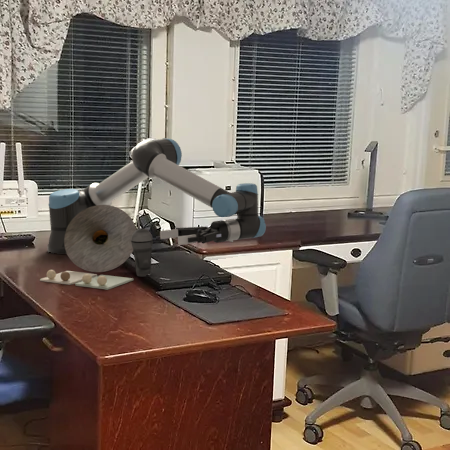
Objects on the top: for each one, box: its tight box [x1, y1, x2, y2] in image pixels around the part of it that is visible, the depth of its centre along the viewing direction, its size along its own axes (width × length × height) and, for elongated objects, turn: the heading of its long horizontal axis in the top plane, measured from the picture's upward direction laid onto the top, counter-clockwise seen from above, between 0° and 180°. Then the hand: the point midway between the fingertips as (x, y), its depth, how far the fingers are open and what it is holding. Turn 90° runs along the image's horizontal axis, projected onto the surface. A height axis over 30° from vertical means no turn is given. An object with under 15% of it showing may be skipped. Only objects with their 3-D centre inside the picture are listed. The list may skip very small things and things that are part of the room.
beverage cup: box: [131, 214, 154, 277], centre depth 243 cm, size 7×7×20 cm
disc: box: [64, 205, 137, 273], centre depth 261 cm, size 25×18×25 cm
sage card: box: [74, 274, 134, 291], centre depth 235 cm, size 13×13×4 cm
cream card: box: [39, 269, 98, 286], centre depth 243 cm, size 13×13×4 cm
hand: (169, 237), depth 248 cm, fingers open, 13 cm apart
